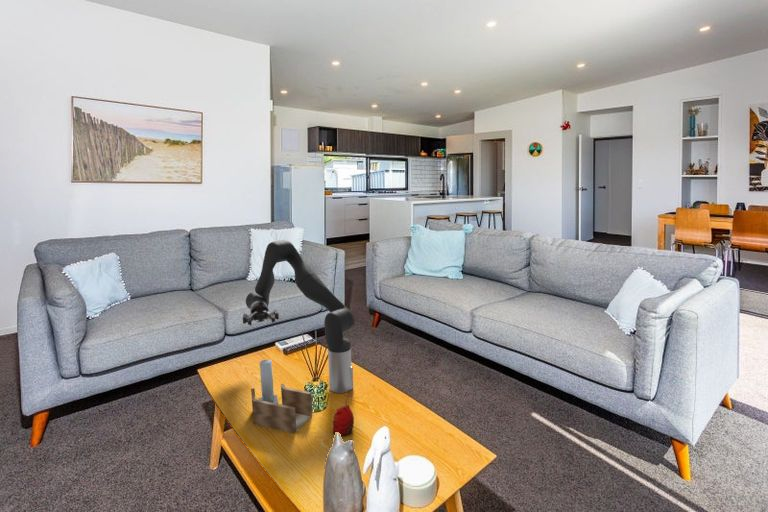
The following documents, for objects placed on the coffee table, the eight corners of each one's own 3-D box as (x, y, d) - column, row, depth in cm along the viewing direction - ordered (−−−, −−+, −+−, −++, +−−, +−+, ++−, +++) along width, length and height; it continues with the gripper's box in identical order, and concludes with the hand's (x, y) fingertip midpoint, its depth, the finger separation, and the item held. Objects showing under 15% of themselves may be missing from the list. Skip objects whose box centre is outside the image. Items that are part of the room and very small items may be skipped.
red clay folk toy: (343, 422, 147) (342, 383, 145) (358, 429, 143) (357, 389, 141) (328, 433, 141) (326, 392, 138) (344, 440, 137) (343, 398, 134)
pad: (276, 395, 166) (276, 394, 166) (278, 404, 160) (278, 403, 160) (258, 398, 164) (258, 398, 164) (259, 407, 157) (259, 406, 157)
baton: (273, 396, 165) (271, 358, 162) (274, 402, 160) (272, 363, 158) (262, 398, 163) (259, 360, 160) (262, 404, 159) (260, 365, 156)
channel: (307, 401, 162) (306, 379, 160) (316, 429, 144) (315, 405, 142) (252, 411, 155) (251, 388, 154) (254, 441, 137) (252, 416, 135)
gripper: (241, 304, 179) (242, 315, 164) (275, 300, 183) (279, 310, 168) (243, 321, 180) (243, 333, 165) (276, 316, 185) (280, 328, 170)
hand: (261, 321), depth 167 cm, fingers open, 8 cm apart
